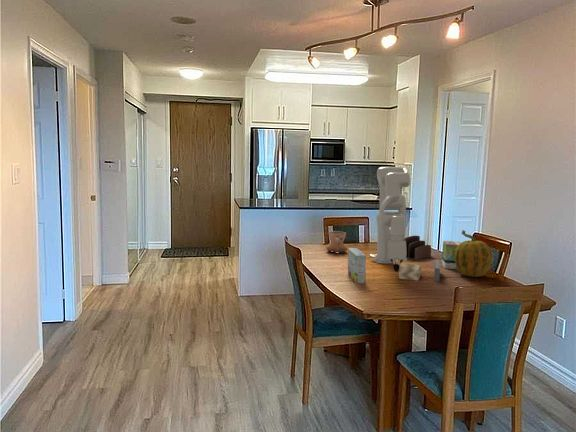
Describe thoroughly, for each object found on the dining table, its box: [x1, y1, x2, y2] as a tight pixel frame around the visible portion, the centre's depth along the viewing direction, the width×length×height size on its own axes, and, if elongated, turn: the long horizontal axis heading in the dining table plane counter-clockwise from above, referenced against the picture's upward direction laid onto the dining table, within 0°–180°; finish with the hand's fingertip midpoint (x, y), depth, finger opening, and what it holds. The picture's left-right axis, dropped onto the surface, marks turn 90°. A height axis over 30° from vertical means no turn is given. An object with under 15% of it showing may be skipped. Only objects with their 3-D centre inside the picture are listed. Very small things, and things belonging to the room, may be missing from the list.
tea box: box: [441, 240, 461, 270], centre depth 286 cm, size 15×10×15 cm, turn 168°
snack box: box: [347, 247, 367, 285], centre depth 253 cm, size 21×6×15 cm, turn 5°
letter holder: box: [404, 235, 432, 261], centre depth 313 cm, size 10×20×14 cm, turn 133°
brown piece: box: [326, 230, 348, 253], centre depth 329 cm, size 18×14×14 cm
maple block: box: [398, 263, 422, 281], centre depth 259 cm, size 10×12×6 cm
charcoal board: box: [433, 259, 441, 283], centre depth 259 cm, size 2×22×7 cm, turn 163°
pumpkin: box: [455, 229, 493, 278], centre depth 261 cm, size 19×19×25 cm
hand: (396, 271), depth 261 cm, fingers closed
